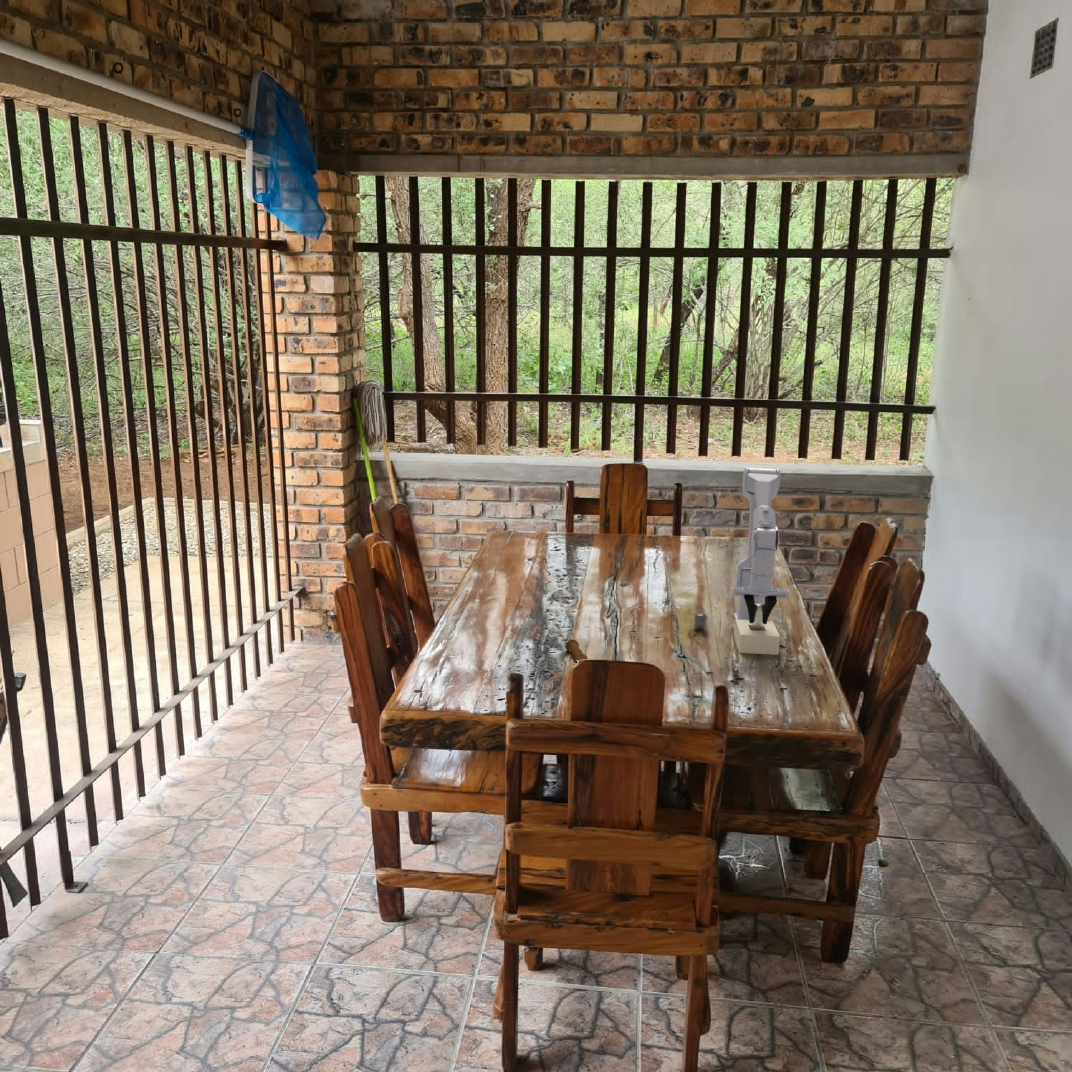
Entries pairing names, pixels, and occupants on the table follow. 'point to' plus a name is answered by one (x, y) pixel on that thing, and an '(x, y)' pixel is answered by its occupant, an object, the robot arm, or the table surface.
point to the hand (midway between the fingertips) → (757, 622)
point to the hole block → (756, 638)
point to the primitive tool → (575, 650)
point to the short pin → (699, 622)
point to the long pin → (758, 616)
